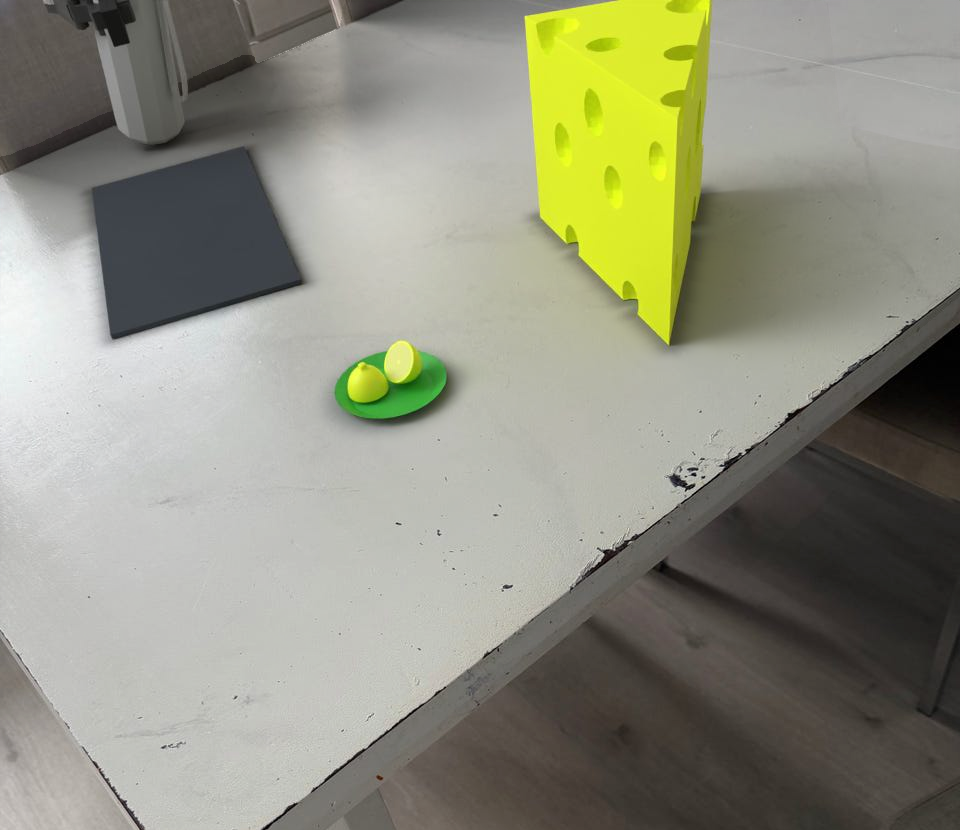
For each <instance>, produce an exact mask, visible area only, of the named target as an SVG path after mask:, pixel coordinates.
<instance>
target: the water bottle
mask: <svg viewBox="0 0 960 830" xmlns="http://www.w3.org/2000/svg"><path fill="white" fill-rule="evenodd" d="M122 1H126V0H116V2H117V3H118V2H122ZM129 1H130V4H131V7H132V9H133V12H134V15H135V18H136V21H135V22H133V23H129V24H125V26H126V30H127V33H128V37H129V40H130V43H129V44H125V45H121V46H117V47H114V46H113V43H112V40H111V38H110V35H109V33H108V30H107V29H104V30H105V33H106V36H100V35H99V32H98V31H97V30H96V29H95V27H94V24H93V22H91V25H92V28H93V32H94V37H95V41H96V45H97V49H98V54H99V57H100V61H101V66H102V69H103V74H104V77H105V82H106V86H107V91H108V95H109V99H110V103H111V106H112V107H111V108H112V111H113V115H114V119H115V123H116V126H117V130H118V131H119V132H121V133H122V134H123V135H124V136H126V137H127V138H128V139H130V140H131V141H132V142H136V143H139V144H143V145H148V146H150V145H159V144H166V143H167V142H169V141H171V140H173V139H174V138H176V137H178V136H179V134H180V133H181V130H182V128H183V127H184V124H185V117H184V111H183V105H182V103H185V102H186V101H187V100H188V97H189V96H188V95H189V86H188V76H187V71H186V68H185V63H184V60H183V55H182V51H181V48H180V44H179V40H178V36H177V31H176V28H175V24H174V20H173V17H172V11H171V8H170V4H169V1H168V0H129ZM93 2H94V3H98V0H93ZM98 4H99V3H98ZM172 47H173V48H172ZM173 51H174V52H173ZM173 53H174V54H173ZM174 55H175V59H176V63H177V67H178V71H179V76H180V81H181V90H182V95H181V93H180V89H179V82H178V77H177V71H176V66H175V65H176V64H175V59H174Z"/></svg>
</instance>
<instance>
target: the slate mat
mask: <svg viewBox="0 0 960 830" xmlns="http://www.w3.org/2000/svg"><path fill="white" fill-rule="evenodd" d="M91 194H92V202H93V210H94V220H95V226H96V235H97V243H98V251H99V257H100V264H101V273H102V281H103V288H104V296H105V303H106V312H107V320H108V328H109V336H110V338H111V339H112V340H115V339H117V338H121V337H124V336H127V335H131V334H134V333H138V332H141V331H144V330H147V329H151V328H155V327H158V326H162V325H166V324H168V323H171V322H175V321H178V320H182V319H185V318H189V317H192V316H195V315H198V314H203V313H206V312H210V311H213V310H216V309H219V308H220V309H221V308H223V307H226V306H229V305H233V304H237V303H240V302H243V301H247V300H251V299H253V298H257V297H261V296H264V295H267V294H271V293H274V292H277V291H281V290H284V289H288V288H290V287H295V286H298V285H301V284H302V283H303V282H302V279H301V276H300V274H299V272H298V270H297V266H296V264H295V262H294V260H293V257H292V255H291V252H290V250H289V248H288V246H287V243H286V240H285V239H284V236H283V234H282V232H281V230H280V228H279V225H278V223H277V220H276V217H275V215H274V213H273V211H272V209H271V206H270V203H269V201H268V198H267V197H266V194H265V192H264V189H263V187H262V185H261V183H260V180H259V178H258V175H257V173H256V170H255V168H254V165H253V163H252V161H251V159H250V157H249V155H248V152H247V150H246V147H245V146H244V145H243V146H239V147H236V148H232V149H228V150H225V151H221V152H217V153H213V154H211V155H206V156H203V157H199V158H196V159H192V160H188V161H185V162H181V163H178V164H173V165H169V166H166V167H163V168H159V169H155V170H152V171H148V172H144V173H141V174H138V175H133V176H129V177H127V178H123V179H119V180H116V181H112V182H107V183H105V184H101V185H98V186H94V187H91Z"/></svg>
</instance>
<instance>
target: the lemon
mask: <svg viewBox="0 0 960 830" xmlns="http://www.w3.org/2000/svg"><path fill="white" fill-rule="evenodd" d="M447 377H448V376H447V370H446V367H445V365H444V364H443V362H442V361H441V360H440V359H438V358H437V357H436V356H435V355H432V354H430V353H429V352H425V351H422V350H418V349H417V348H416V346H414V345H413V344H411V343H410V342H408V341H405V340H398V341H395V342H393V344H392V345H390V347H389V349H388V350H385V351H381V352H378V353H374V354H371V355H369V356H366V357H364V358H362V359H360V360H358V361H356V362H355V363H353V364H351V365H350V366H349V367H348V368H347V369H346V370H345V371H343V372H342V374H341V375H340V376H339V378H338V379H337V382H336V384H335V385H334V399H335V401H336V402H337V404H338V406H340V408H341V409H343V410H344V411H346V412H347V413H349V414H351V415H354V416H357V417H360V418H366V419H389V418H396V417H399V416H403V415H407V414H410V413H412V412H415V411H418V410H420V409H422V408H423V407H424V406H427V405H428V404H429V403H431V402H432V401H434V399H435V398H436V397H438V395H439V394H440V393H441V392H442V391H443V389H444V388H445V385H446V382H447Z"/></svg>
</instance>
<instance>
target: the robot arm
mask: <svg viewBox="0 0 960 830" xmlns="http://www.w3.org/2000/svg"><path fill="white" fill-rule="evenodd" d="M42 2H43V5H44V6H45V9H46V11H47V13H48V14H54V15H59V16H60V17H61V18H62V19H64V20H65V21H66V22H68V23H69V24H70V25H71V26H73V28H75V29H76V30H80V31H84V30H87V29H88V28H90V23H92V22H93V24H94V27H95V29H96V30H97V31H98V32H99V35H100V36H106V33H105V30H104V29H107V30H108V33H109V35H110V38H111V40H112V43H113V46H114V47H117V46H121V45H125V44H129V43H130V40H129V37H128V33H127V30H126V26H125V24H129V23H133V22H135V21H136V18H135V15H134V12H133V9H132V7H131V4H130V1H129V0H126V1H122V2H118V3H117V2H116V0H98V3H99V4H98V3H94V2H93V0H42ZM93 24H92V25H93Z"/></svg>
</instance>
